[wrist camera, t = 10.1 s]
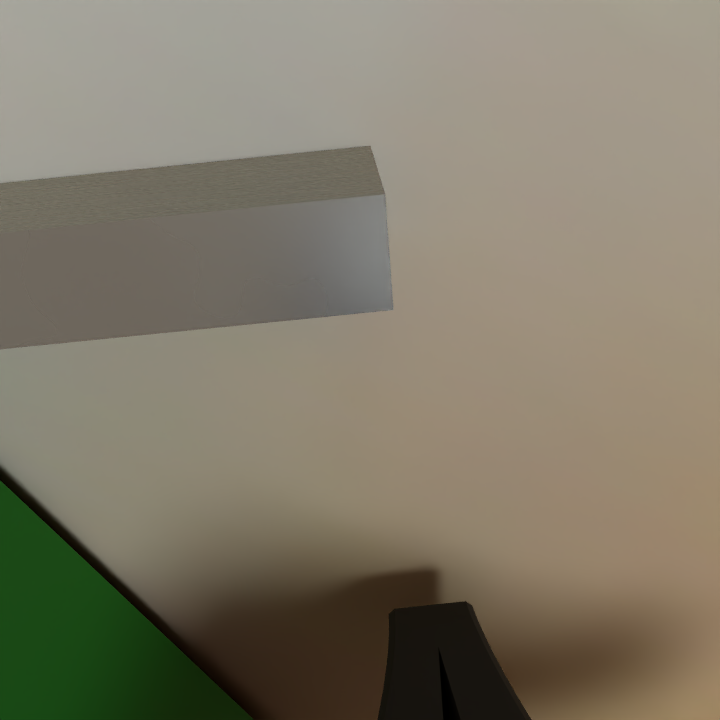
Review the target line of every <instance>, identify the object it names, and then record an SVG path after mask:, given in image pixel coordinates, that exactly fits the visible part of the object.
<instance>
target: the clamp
mask: <svg viewBox="0 0 720 720" xmlns="http://www.w3.org/2000/svg"><path fill="white" fill-rule="evenodd" d="M0 720H254V719H253V718H252V717H251V716H249V715H248V714H247V713H246V712H245V711H244V710H243V709H242V708H241V707H240V706H239V705H238V704H237V703H236V702H235V701H234V700H233V699H231V698H230V697H229V696H228V695H227V694H226V693H225V692H224V691H223V690H222V689H221V688H220V687H219V686H218V685H217V684H216V683H214V682H213V681H212V680H211V679H210V678H209V677H208V676H207V675H206V674H205V673H204V672H203V671H202V670H201V669H200V668H199V667H198V666H196V665H195V664H194V663H193V662H192V661H191V660H190V659H189V658H188V657H187V656H186V655H185V654H184V653H183V652H182V651H181V650H179V649H178V648H177V647H176V646H175V645H174V644H173V643H172V642H171V641H170V640H169V639H168V638H167V637H166V636H165V635H164V634H163V633H161V632H160V631H159V630H158V629H157V628H156V627H155V626H154V625H153V624H152V623H151V622H150V621H149V620H148V619H147V618H146V617H144V616H143V615H142V614H141V613H140V612H139V611H138V610H137V609H136V608H135V607H134V606H133V605H132V604H131V603H130V602H129V601H128V600H126V599H125V598H124V597H123V596H122V595H121V594H120V593H119V592H118V591H117V590H116V589H115V588H114V587H113V586H112V585H111V584H110V583H108V582H107V581H106V580H105V579H104V578H103V577H102V576H101V575H100V574H99V573H98V572H97V571H96V570H95V569H94V568H93V567H91V566H90V565H89V564H88V563H87V562H86V561H85V560H84V559H83V558H82V557H81V556H80V555H79V554H78V553H77V552H76V551H75V550H73V549H72V548H71V547H70V546H69V545H68V544H67V543H66V542H65V541H64V540H63V539H62V538H61V537H60V536H59V535H58V534H56V533H55V532H54V531H53V530H52V529H51V528H50V527H49V526H48V525H47V524H46V523H45V522H44V521H43V520H42V519H41V518H40V517H38V516H37V515H36V514H35V513H34V512H33V511H32V510H31V509H30V508H29V507H28V506H27V505H26V504H25V503H24V502H23V501H21V500H20V499H19V498H18V497H17V496H16V495H15V494H14V493H13V492H12V491H11V490H10V489H9V488H8V487H7V486H6V485H5V484H3V483H2V482H1V481H0Z"/></svg>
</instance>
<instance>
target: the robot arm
mask: <svg viewBox="0 0 720 720" xmlns="http://www.w3.org/2000/svg"><path fill="white" fill-rule="evenodd" d="M378 720H531V718H530V717H529V715H528V713H527V712H526V710H525V708H524V707H523V705H522V704H521V702H520V700H519V699H518V697H517V695H516V694H515V692H514V690H513V688H512V687H511V685H510V683H509V681H508V680H507V678H506V676H505V674H504V672H503V670H502V669H501V667H500V665H499V663H498V661H497V659H496V657H495V656H494V654H493V652H492V650H491V648H490V646H489V644H488V642H487V640H486V637H485V635H484V633H483V631H482V629H481V626H480V624H479V622H478V620H477V617H476V615H475V612H474V609H473V607H472V605H470V604H469V603H467V602H466V601H465V602H456V603H446V604H437V605H427V606H417V607H408V608H398V609H394V610H393V611H392V612H391V613H390V614H389V647H388V658H387V667H386V674H385V681H384V688H383V694H382V699H381V705H380V710H379V715H378Z"/></svg>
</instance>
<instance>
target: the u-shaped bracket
mask: <svg viewBox="0 0 720 720" xmlns="http://www.w3.org/2000/svg"><path fill="white" fill-rule="evenodd" d="M387 310H393V298H392V284H391V270H390V256H389V242H388V228H387V214H386V200H385V192H384V189H383V186H382V183H381V179H380V176H379V173H378V169H377V166H376V163H375V160H374V156H373V153H372V150H371V146H365V147H355V148H346V149H336V150H326V151H316V152H306V153H296V154H286V155H276V156H267V157H257V158H247V159H237V160H227V161H217V162H207V163H197V164H188V165H178V166H168V167H158V168H148V169H138V170H128V171H118V172H109V173H99V174H89V175H79V176H69V177H59V178H49V179H39V180H30V181H20V182H10V183H0V349H6V348H16V347H26V346H37V345H47V344H57V343H67V342H77V341H87V340H97V339H107V338H117V337H127V336H137V335H147V334H157V333H167V332H177V331H187V330H197V329H207V328H217V327H227V326H237V325H247V324H257V323H267V322H277V321H287V320H297V319H307V318H317V317H327V316H337V315H347V314H357V313H367V312H377V311H387Z"/></svg>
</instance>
